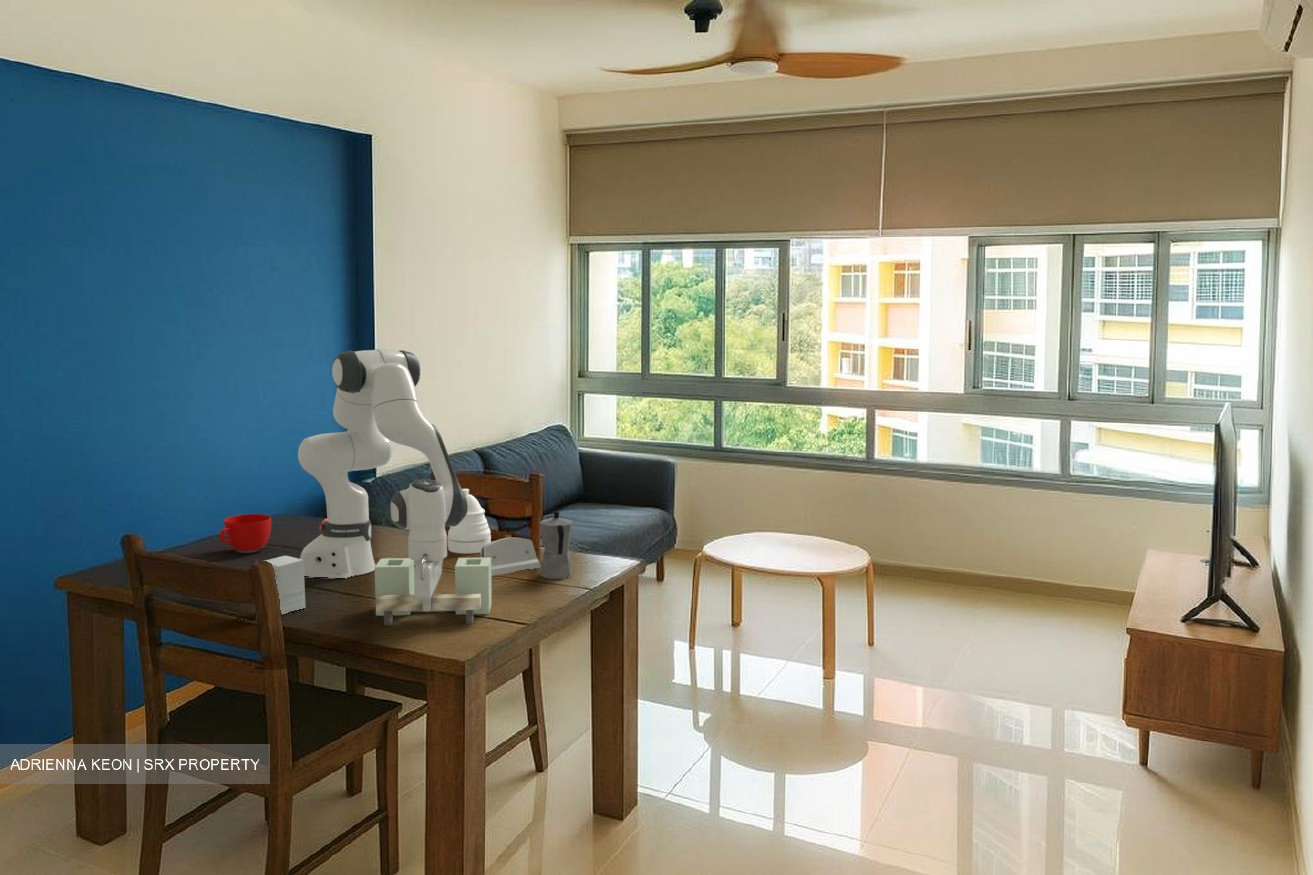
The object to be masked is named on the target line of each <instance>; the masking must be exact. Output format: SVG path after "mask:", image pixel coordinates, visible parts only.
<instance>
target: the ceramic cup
mask: <svg viewBox="0 0 1313 875" xmlns="http://www.w3.org/2000/svg"><path fill="white" fill-rule="evenodd" d="M223 524H224V528H222V529H221V530H220V532H219V539H220V540H221V542H222V543H223V544H225V545H228V546H231V548H232V550H235V551H236V550H239V551H248V550H256V549H261V548H265V546H266V545H267V543H268V541H269V539H270V536H271V531H272V517H271V516H270V515H268V514H261V513H248V514H237V515H233V516H229V517H227V518H225V519H223ZM225 536H226V538H225Z"/></svg>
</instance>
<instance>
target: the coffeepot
mask: <svg viewBox="0 0 1313 875" xmlns="http://www.w3.org/2000/svg"><path fill="white" fill-rule="evenodd" d="M552 514H553V517H549V518H547V519H543V520H541V521H540V522H539V528H540V536H541V541H542V542H541V543H542V546H543V547H544V552H543V554H542V560H541V564H540V571H539V572H540V573H539V576H541V577H542V578H544V579H547V578H548V579H549V580H561V579H560V578H564V577H568V576H571V575H572V576H573V574H572V573H574V570H573V565H572V558H571V553H570V551H569V550H570V549H569V546H570V545H571V540H572V532H573V526H574V521H573V520H570V519H567V518H562V517H560V511H556V510H555V511H553V513H552ZM572 576H571V577H572ZM568 578H569V577H568ZM548 579H547V580H548Z"/></svg>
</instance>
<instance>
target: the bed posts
mask: <svg viewBox="0 0 1313 875" xmlns="http://www.w3.org/2000/svg"><path fill="white" fill-rule="evenodd" d="M375 565H376V566H375V570H374V581H375V582H374V589H375V595H374V596H375V598H376V597H377V596H378V595H414V576H415V564H414V560H411V559H410V558H409V557H407V558H405V557H404V558H403V557H402V558H399V557H398V558H394V557H393V558H390V557H389V558H388V557H387V558H384V557H383V558H380V559H379V560H378V562H377V563H376V564H375ZM454 584H455V586H454V588H455V589H454V590H455V592H454V594H481V607H480V610H474V615H490V611H491V609H492V608H491V607H492V604H493V602H492V597H493V596H492V592H493V591H492V576H491V558H481V557H458V558H457V561H456V563H455V565H454ZM417 612H418V613H420V612H423V613H424V612H426V613H427V612H429V613H431V612H433V613H434V612H435V613H436V612H437V613H438V612H455V615H466V610H430V611H393V616H410V615H411V614H412V613H417ZM375 616H384V611H376V610H375Z"/></svg>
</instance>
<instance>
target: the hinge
mask: <svg viewBox="0 0 1313 875" xmlns="http://www.w3.org/2000/svg"><path fill="white" fill-rule="evenodd" d="M480 558H491V577H495V576H500V575H506V574H507V575H508V574H511V572H513V573H516V572H515V571H519V570H525V569H530V570H535V568H536V569H541V564H540V561H539V559H538V558H537V555H536V550H535V548H534V544H533V541H532V540H531V539H529V538H524V537H523V538H522V537H505V538H499V539H497V540H494V541H491V543H489V544H487V545H485V546H484V547H482V548H481V551H480ZM525 571H526V570H525ZM519 572H520V571H519Z"/></svg>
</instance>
